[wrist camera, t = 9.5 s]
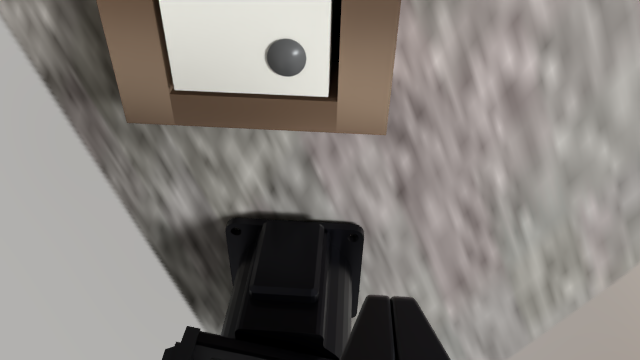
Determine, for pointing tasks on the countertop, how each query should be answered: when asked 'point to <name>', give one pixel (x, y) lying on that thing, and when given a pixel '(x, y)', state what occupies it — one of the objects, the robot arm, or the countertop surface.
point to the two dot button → (250, 45)
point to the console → (256, 109)
